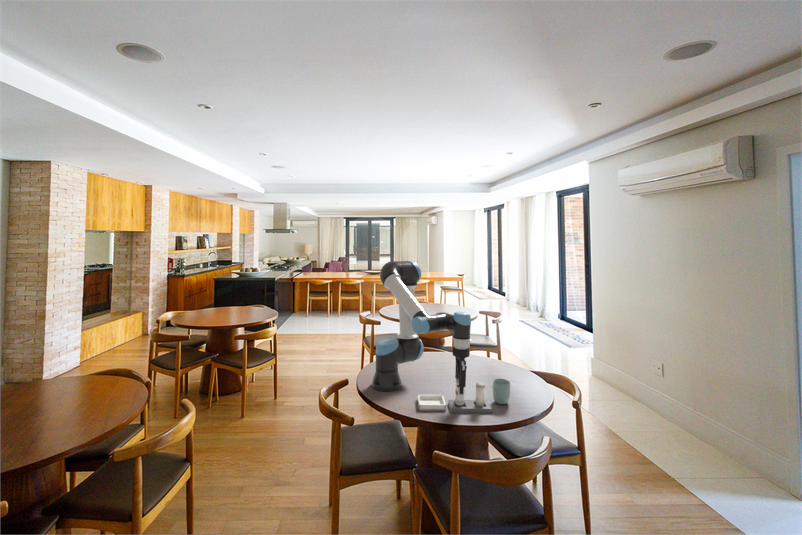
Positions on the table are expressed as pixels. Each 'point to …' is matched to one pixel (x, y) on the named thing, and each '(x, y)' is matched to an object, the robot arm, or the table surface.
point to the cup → (501, 391)
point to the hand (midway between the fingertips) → (459, 398)
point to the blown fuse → (459, 403)
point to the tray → (431, 402)
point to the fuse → (480, 394)
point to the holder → (470, 407)
